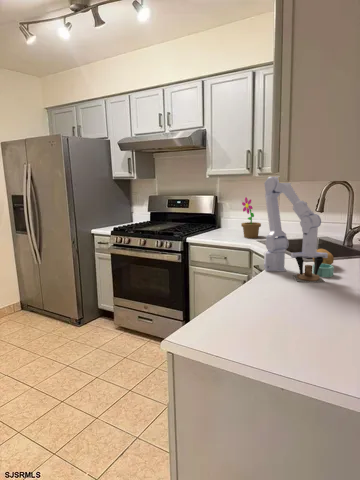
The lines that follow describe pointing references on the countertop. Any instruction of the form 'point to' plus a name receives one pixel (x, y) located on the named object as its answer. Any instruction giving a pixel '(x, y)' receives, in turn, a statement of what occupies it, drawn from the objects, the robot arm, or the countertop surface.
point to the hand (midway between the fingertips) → (308, 274)
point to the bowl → (325, 270)
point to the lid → (308, 274)
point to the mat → (307, 281)
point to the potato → (326, 260)
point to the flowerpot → (250, 227)
